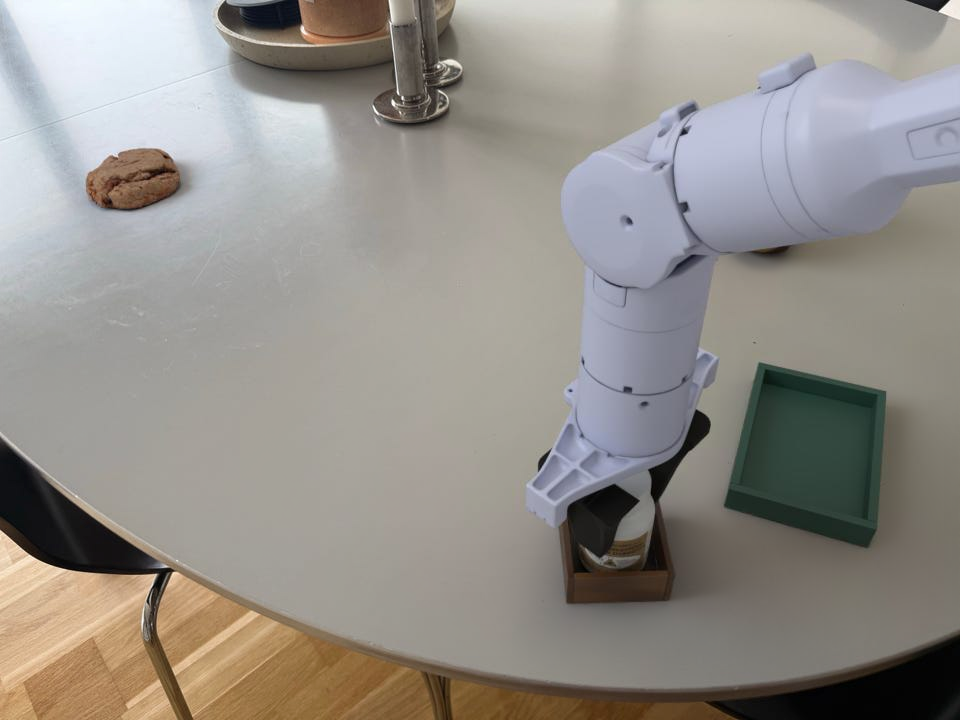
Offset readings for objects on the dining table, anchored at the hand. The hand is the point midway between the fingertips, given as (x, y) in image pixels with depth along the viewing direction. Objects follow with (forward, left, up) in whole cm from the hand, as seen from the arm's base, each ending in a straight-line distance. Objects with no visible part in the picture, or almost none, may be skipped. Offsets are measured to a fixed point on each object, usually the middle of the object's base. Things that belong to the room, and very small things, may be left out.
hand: (616, 519), depth 50 cm
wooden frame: (0, 0, -4) cm, 4 cm away
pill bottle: (0, 0, -4) cm, 4 cm away
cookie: (+68, +1, -4) cm, 68 cm away
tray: (-4, -16, -4) cm, 18 cm away
